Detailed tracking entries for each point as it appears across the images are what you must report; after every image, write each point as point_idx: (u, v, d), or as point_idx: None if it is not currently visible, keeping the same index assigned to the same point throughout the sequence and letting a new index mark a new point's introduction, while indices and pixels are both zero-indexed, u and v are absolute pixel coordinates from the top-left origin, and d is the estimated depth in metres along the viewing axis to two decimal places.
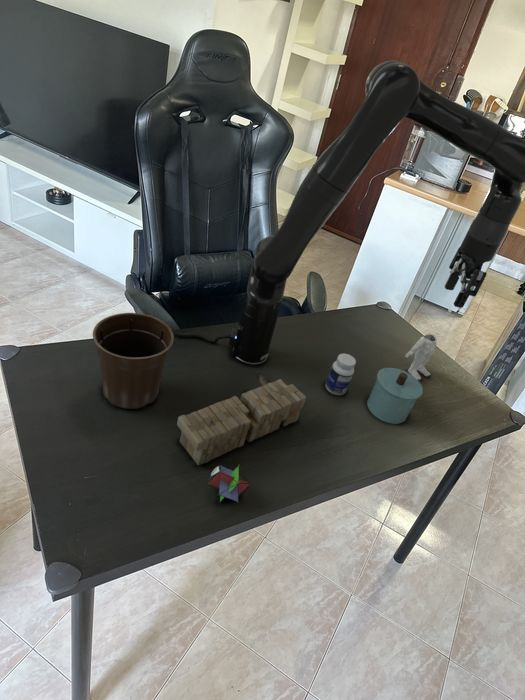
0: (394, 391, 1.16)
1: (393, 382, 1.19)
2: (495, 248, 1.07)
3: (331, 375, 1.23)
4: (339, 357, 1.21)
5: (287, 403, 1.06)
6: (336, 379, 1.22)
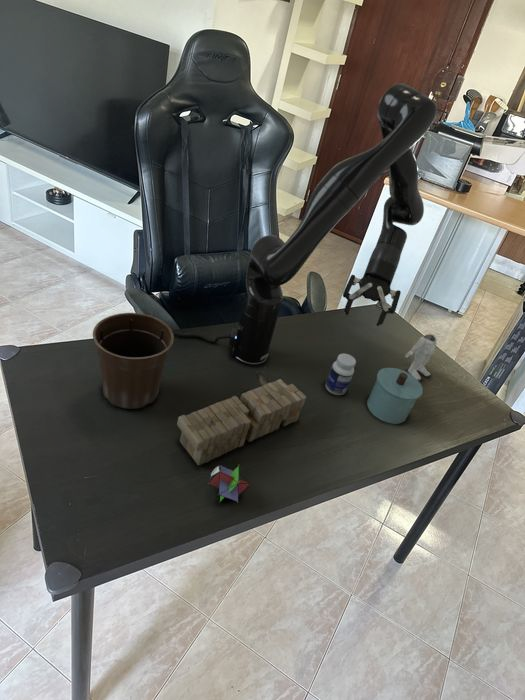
0: (394, 391, 1.16)
1: (393, 382, 1.19)
2: None
3: (331, 375, 1.23)
4: (339, 357, 1.21)
5: (287, 403, 1.06)
6: (336, 379, 1.22)
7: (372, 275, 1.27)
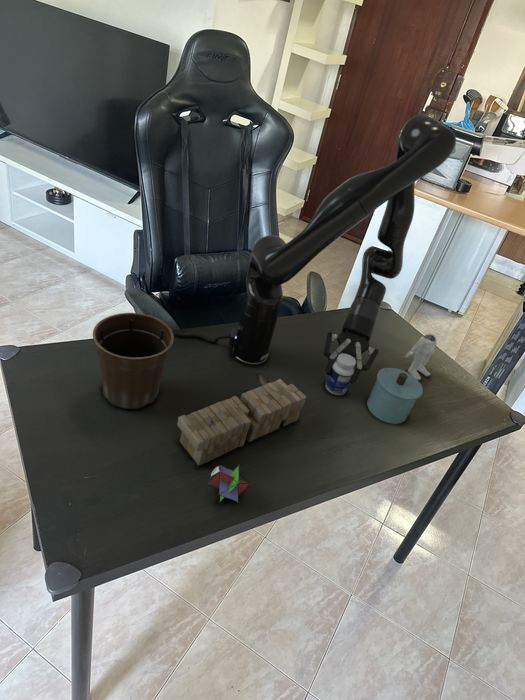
0: (394, 391, 1.16)
1: (393, 382, 1.19)
2: None
3: (331, 375, 1.23)
4: (339, 357, 1.21)
5: (287, 403, 1.06)
6: (336, 379, 1.22)
7: (350, 331, 1.23)
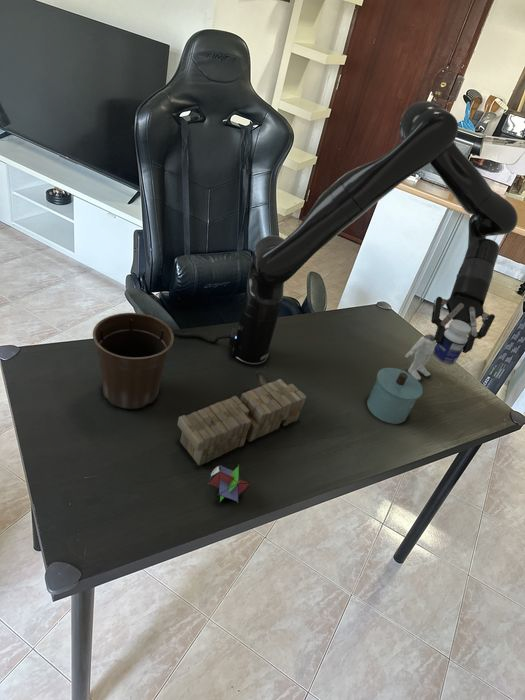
0: (394, 391, 1.16)
1: (393, 382, 1.19)
2: None
3: (441, 344, 1.12)
4: (452, 323, 1.10)
5: (287, 403, 1.06)
6: (448, 347, 1.11)
7: (463, 294, 1.12)
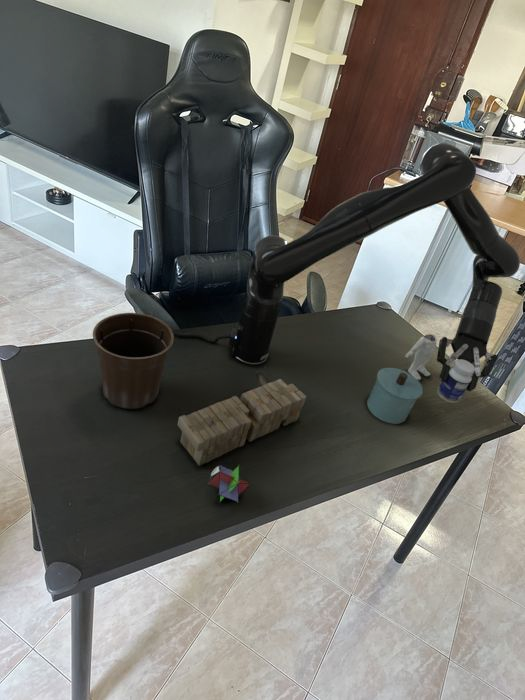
0: (394, 391, 1.16)
1: (393, 382, 1.19)
2: None
3: (446, 382, 1.18)
4: (457, 363, 1.16)
5: (287, 403, 1.06)
6: (453, 386, 1.16)
7: (467, 335, 1.17)
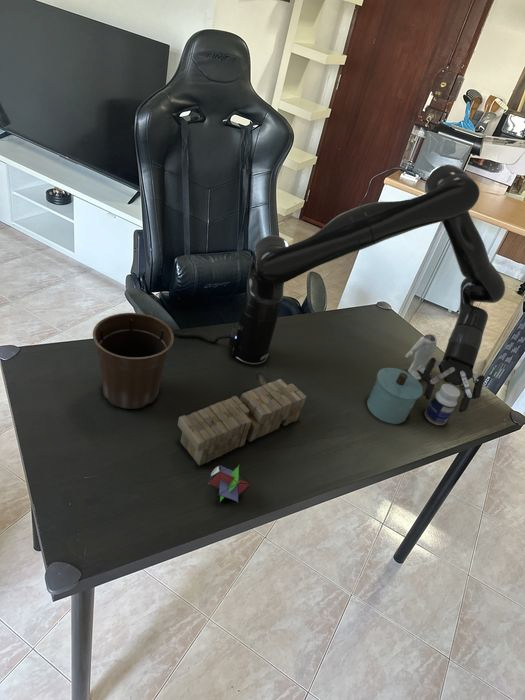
0: (394, 391, 1.16)
1: (393, 382, 1.19)
2: None
3: (433, 406, 1.22)
4: (443, 388, 1.20)
5: (287, 403, 1.06)
6: (439, 409, 1.21)
7: (454, 359, 1.21)
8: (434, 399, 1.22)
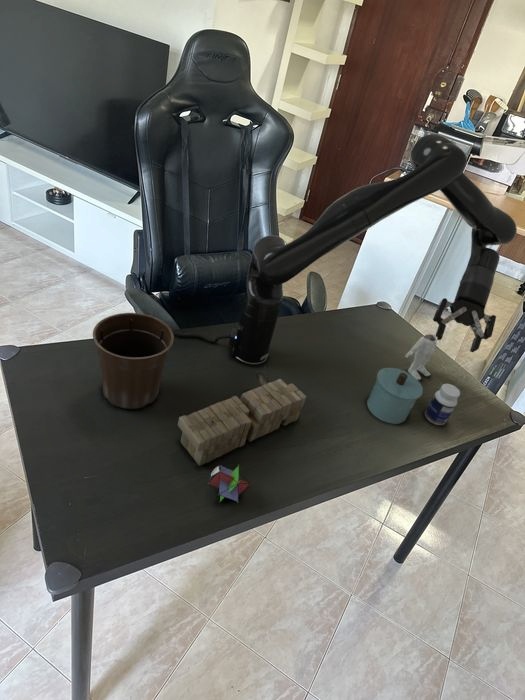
0: (394, 391, 1.16)
1: (393, 382, 1.19)
2: None
3: (433, 406, 1.22)
4: (443, 388, 1.20)
5: (287, 403, 1.06)
6: (439, 409, 1.21)
7: (466, 299, 1.21)
8: (434, 399, 1.22)
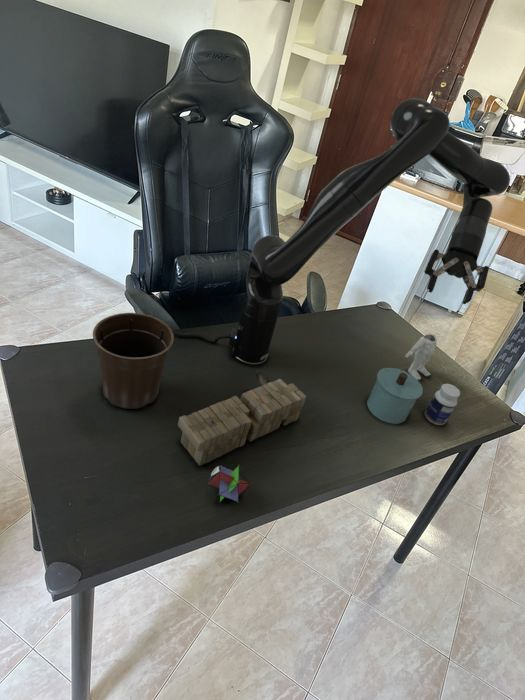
0: (394, 391, 1.16)
1: (393, 382, 1.19)
2: None
3: (433, 406, 1.22)
4: (443, 388, 1.20)
5: (287, 403, 1.06)
6: (439, 409, 1.21)
7: (458, 249, 1.18)
8: (434, 399, 1.22)
